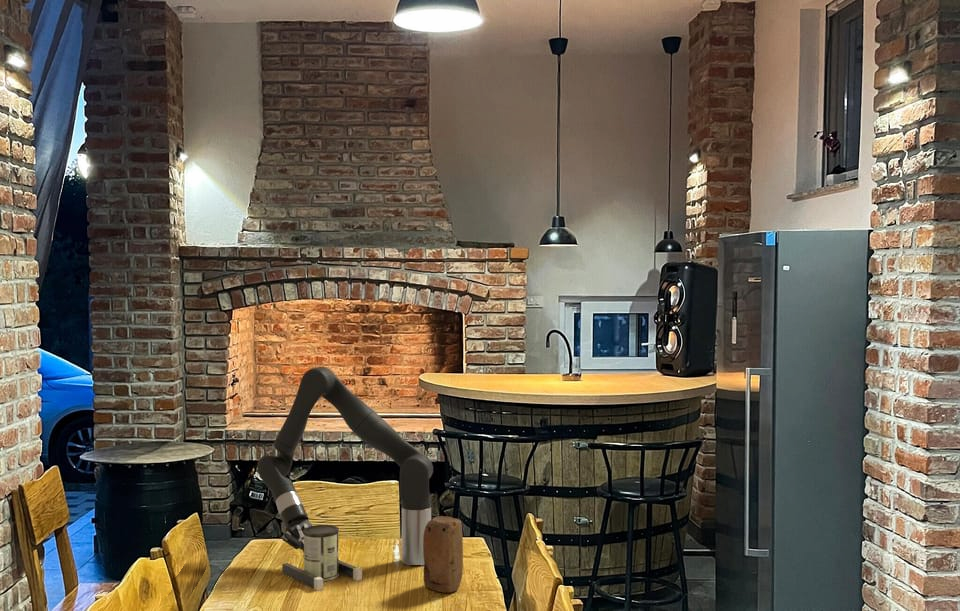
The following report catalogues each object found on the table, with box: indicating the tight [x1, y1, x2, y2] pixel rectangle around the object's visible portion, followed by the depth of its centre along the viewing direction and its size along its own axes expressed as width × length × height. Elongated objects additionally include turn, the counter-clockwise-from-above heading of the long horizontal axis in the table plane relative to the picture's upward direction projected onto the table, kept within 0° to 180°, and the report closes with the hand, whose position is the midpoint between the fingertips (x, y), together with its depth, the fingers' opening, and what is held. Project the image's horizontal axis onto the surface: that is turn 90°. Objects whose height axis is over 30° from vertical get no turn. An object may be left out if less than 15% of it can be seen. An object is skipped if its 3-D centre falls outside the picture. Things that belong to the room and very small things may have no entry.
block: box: [423, 515, 464, 594], centre depth 248 cm, size 11×8×20 cm
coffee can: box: [303, 524, 340, 582], centre depth 259 cm, size 10×10×14 cm
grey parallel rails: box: [281, 559, 363, 592], centre depth 259 cm, size 15×20×3 cm
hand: (311, 558), depth 263 cm, fingers closed
